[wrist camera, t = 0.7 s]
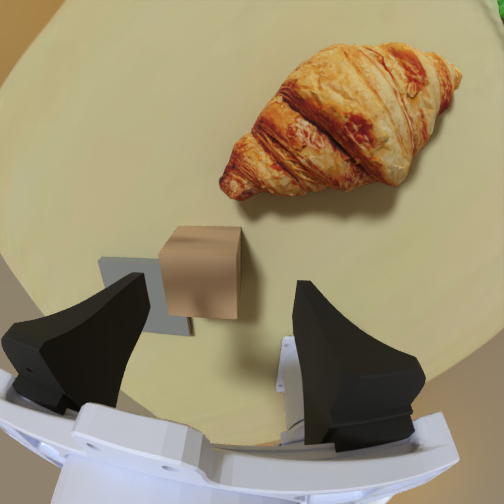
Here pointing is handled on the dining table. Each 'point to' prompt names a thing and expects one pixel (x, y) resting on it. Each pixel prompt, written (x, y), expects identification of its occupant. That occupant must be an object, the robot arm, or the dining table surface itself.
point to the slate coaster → (158, 312)
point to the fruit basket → (501, 8)
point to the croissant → (343, 122)
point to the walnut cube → (202, 271)
